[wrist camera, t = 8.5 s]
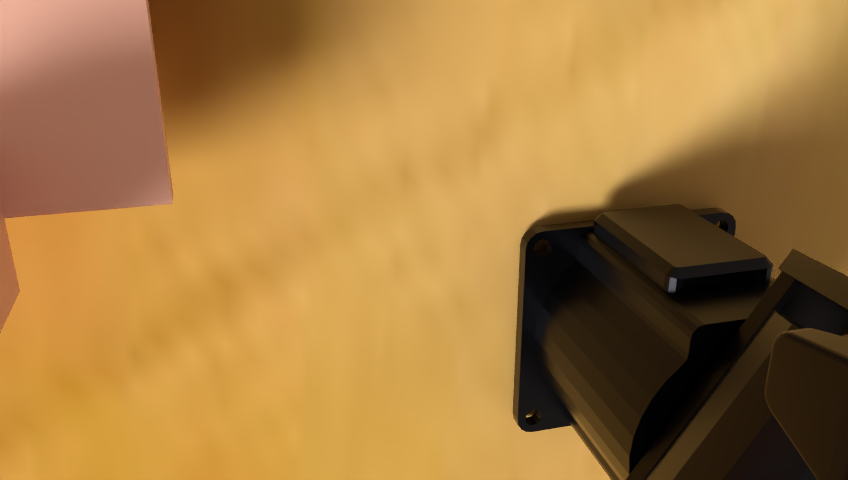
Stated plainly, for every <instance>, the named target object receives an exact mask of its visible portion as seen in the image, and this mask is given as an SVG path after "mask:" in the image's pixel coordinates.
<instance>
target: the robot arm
mask: <svg viewBox="0 0 848 480" xmlns="http://www.w3.org/2000/svg"><path fill="white" fill-rule="evenodd" d="M719 221H720V225H719V227H717V226H715V224H716V223H717V222H719ZM735 228H736V225H735V219H734V218H733V216H732V215H730V214H729V213H727V212H725V211H724V210H722V209H719V208H710V209H700V210H689V209H687V208H686V207H684V206H682V205H679V204H677V205H667V206H657V207H647V208H637V209H627V210H617V211H607V212H602V213H601V214H600V215H598V216H597V217H596V218H595V219H594V220H592V221H582V222H573V223H563V224H553V225H543V226H536V227H533V228H531V229H529V230H528V231H527V232H526V233H525V234H524V236H523V237H522V240H521V244H520V263H519V285H518V308H517V330H516V353H515V375H514V398H513V416H514V419H515V421H516V422H517V424H518V426H519V427H520V428H521V429H522V430H524V431H526V432H534V431H540V430H546V429H552V428H558V427H564V426H570V425H572V427H573V428H574V429H575V431H576V432H577V433H578V435H579V436H580V438H581V439H582V440H583V442H584V443H585V444H586V446H587V447H588V449H589V450H590V451H591V453H592V454H593V455H594V457H595V458H596V459H597V461H598V462H599V464H600V465H601V466H602V468H603V469H604V470H605V472H606V473H607V475H608V476H609V477H610V479H611V480H848V276H846V275H844V274H842V273H840V272H838V271H836V270H834V269H832V268H830V267H828V266H826V265H824V264H822V263H820V262H818V261H816V260H814V259H812V258H810V257H808V256H806V255H804V254H802V253H800V252H798V251H796V250H794V249H793V250H792V251H791V252H790V254H789V255H788V256H787V258H786V259H785V260H784V262H783V263H782V264H781V266H780V267H779V268H778V269H779V270H781V271H782V272H781V274H780V275H779V276H778V278H777V279H776V280H775V279H774V278H772V277H771V274H772V269H773V264H772V263H771V262H770V261H769V260H768V258H767V257H766V256H765V255H763V254H762V253H760V252H758V251H757V250H755V249H753V248H752V247H750V246H748V245H747V244H745V243H744V242H742V241H740V240H739V239H737V238H735V237H734V234H735ZM543 239H544V240H546V243H545V246H544V247H543V248H542V249H541V250H539V251H534V247H535V244H536V243H537V242H538V241H540V240H543ZM533 410H535V411H536V412H535V413H534V414H533V415H532V416H531V417H528V418H527V417H526V415H527V414H528V413H529V412H531V411H533Z"/></svg>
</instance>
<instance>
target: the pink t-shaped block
mask: <svg viewBox="0 0 848 480" xmlns="http://www.w3.org/2000/svg"><path fill="white" fill-rule="evenodd" d="M172 202H173V189H172V181H171V173H170V166H169V158H168V150H167V142H166V135H165V127H164V119H163V111H162V104H161V96H160V88H159V80H158V73H157V65H156V57H155V49H154V42H153V34H152V26H151V18H150V11H149V3H148V0H0V332H1V330H2V328H3V326H4V324H5V321H6V319H7V317H8V315H9V313H10V311H11V309H12V306H13V304H14V302H15V300H16V298H17V296H18V294H19V292H20V290H19V285H18V281H17V276H16V271H15V267H14V262H13V257H12V253H11V248H10V243H9V239H8V234H7V230H6V225H5V220H4V218H11V217H23V216H35V215H46V214H58V213H70V212H81V211H93V210H105V209H117V208H128V207H140V206H152V205H163V204H172Z"/></svg>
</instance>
